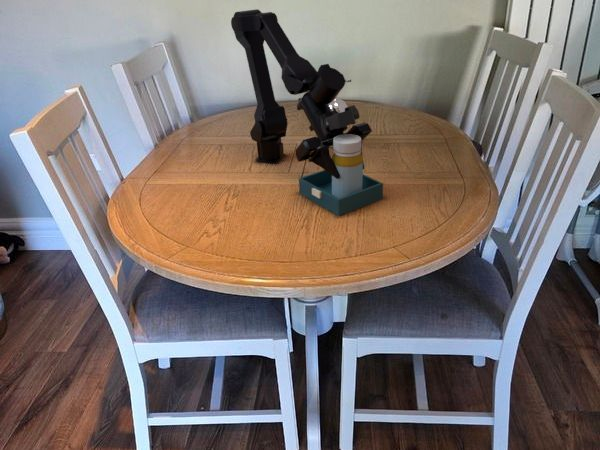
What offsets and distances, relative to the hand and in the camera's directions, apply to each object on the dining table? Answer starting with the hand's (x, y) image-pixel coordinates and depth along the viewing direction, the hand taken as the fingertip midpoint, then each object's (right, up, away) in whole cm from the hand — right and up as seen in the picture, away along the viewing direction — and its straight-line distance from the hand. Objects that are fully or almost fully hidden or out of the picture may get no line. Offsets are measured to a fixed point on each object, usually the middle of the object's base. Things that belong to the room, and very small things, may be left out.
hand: (350, 173), depth 109 cm
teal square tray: (-2, -5, +6) cm, 8 cm away
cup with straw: (0, +12, +36) cm, 38 cm away
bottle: (0, -6, +5) cm, 7 cm away
